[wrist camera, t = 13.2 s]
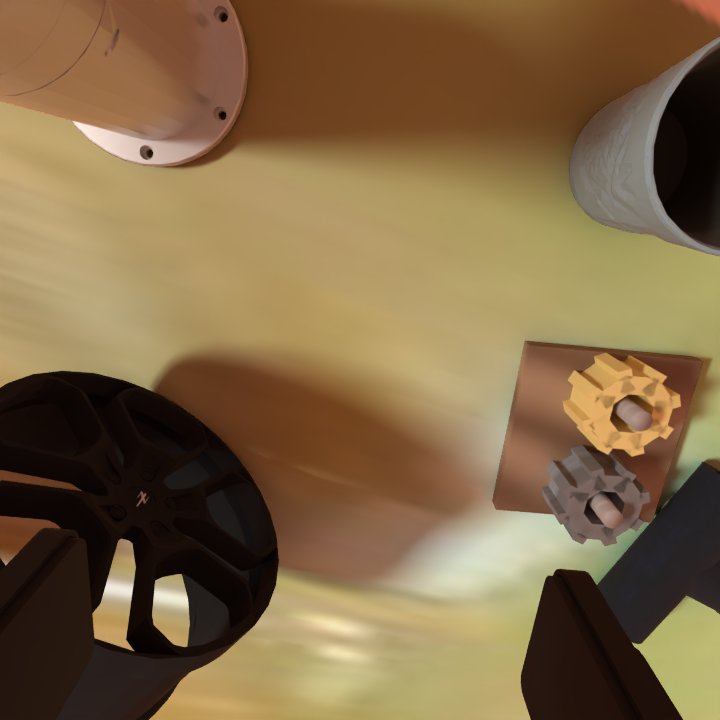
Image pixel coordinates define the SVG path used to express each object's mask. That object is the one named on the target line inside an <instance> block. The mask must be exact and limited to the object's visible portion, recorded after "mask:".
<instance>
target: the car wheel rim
mask: <svg viewBox="0 0 720 720" xmlns="http://www.w3.org/2000/svg"><path fill="white" fill-rule="evenodd" d="M0 470H5V471H10V472H15V473H21V474H26V475H31V476H36V477H41V478H46V479H52V480H57V481H62V482H67V483H71V484H72V485H74V486H76V487H77V488H79V489H81V490H82V491H77V490H70V489H63V488H55V487H48V486H40V485H33V484H26V483H18V482H11V481H4V480H2V481H0V516H10V517H22V518H33V519H44V520H49V521H52V522H54V523H56V524H57V525H58V526H59V527H60V528H61V529H68V530H75V531H77V533H78V535H79V538H82V539H84V540H85V541H86V546H87V558H88V570H89V581H90V593H91V605H92V613H93V612H94V611H95V610H96V608H97V607H98V606H99V605H100V603H101V600H102V596H103V593H104V589H105V586H106V582H107V578H108V575H109V571H110V568H111V564H112V561H113V557H114V553H115V550H116V546H117V543H118V541H119V540H120V539H121V538H122V539H126V540H129V541H130V542H132V543H133V549H134V557H135V564H136V571H135V579H134V586H133V593H132V601H131V608H130V616H129V623H128V630H127V638H126V640H127V641H128V643H129V644H130V646H131V647H132V648H133V650H134V651H135V652H134V651H131V650H128V649H125V648H122V647H119V646H116V645H113V644H110V643H107V642H104V641H101V640H98V639H95V638H94V650H93V654H92V657H91V659H90V662H89V664H88V665H87V667H86V669H85V671H84V672H83V674H82V676H81V677H80V679H79V681H78V682H77V684H76V686H75V688H74V689H73V691H72V693H71V694H70V696H69V698H68V700H67V701H66V703H65V705H64V706H63V708H62V710H61V712H60V713H59V715H58V717H57V718H56V720H149V719H150V718H151V717H152V716H153V715H154V714H155V713H156V712H157V711H158V710H159V709H160V708H161V707H162V705H163V704H164V703H165V702H166V701H167V700H168V698H169V697H170V696H171V694H172V693H173V691H174V689H175V688H176V686H177V685H178V683H179V682H180V681H181V680H182V679H183V678H184V677H185V676H186V675H187V674H188V673H189V672H191V671H194V670H196V669H198V668H201V667H203V666H205V665H207V664H208V663H210V662H212V661H214V660H215V659H217V658H218V657H220V656H221V655H222V654H223V653H225V652H226V651H227V650H228V649H229V648H230V647H231V646H233V645H234V644H235V643H236V642H237V641H238V640H239V639H240V638H241V637H242V636H243V635H245V634H246V633H247V632H248V631H249V630H250V629H251V628H252V627H253V626H254V625H255V624H256V623H257V621H258V620H259V618H260V617H261V615H262V614H263V613H264V611H265V610H266V608H267V607H268V605H269V602H270V600H271V597H272V594H273V591H274V589H275V586H276V580H277V572H278V564H279V558H278V548H277V538H276V533H275V530H274V526H273V522H272V519H271V515H270V512H269V510H268V508H267V506H266V503H265V501H264V499H263V497H262V495H261V492H260V490H259V489H258V487H257V485H256V484H255V482H254V481H253V479H252V477H251V476H250V474H249V472H248V471H247V470H246V468H245V467H244V466H243V464H242V463H241V462H240V460H239V459H238V458H237V456H236V455H235V454H234V453H233V452H232V451H231V450H230V449H229V448H228V447H227V446H226V444H225V443H224V442H223V441H222V440H221V439H220V438H219V437H218V436H217V435H216V434H214V433H213V432H212V431H211V430H210V429H209V428H208V427H206V426H205V425H204V424H203V423H202V422H201V421H199V420H198V419H196V418H195V417H194V416H192V415H191V414H189V413H188V412H187V411H185V410H184V409H183V408H181V407H179V406H177V405H176V404H174V403H172V402H171V401H169V400H167V399H165V398H164V397H162V396H160V395H158V394H156V393H154V392H152V391H149V390H147V389H145V388H143V387H140V386H137V385H135V384H132V383H129V382H127V381H124V380H120V379H116V378H112V377H108V376H103V375H99V374H95V373H84V372H70V371H58V372H49V373H41V374H33V375H30V376H27V377H24V378H21V379H19V380H16V381H13V382H10V383H7V384H6V385H4V386H2V387H1V388H0ZM5 566H6V565H5V564H4V563H3V561H2V560H1V558H0V571H1V570H2V569H3V568H4V567H5ZM175 574H182V576H183V580H184V584H185V588H186V592H187V596H188V602H189V616H190V628H189V637H188V646H187V647H181V646H176V645H173V644H172V643H171V642H170V641H169V640H168V639H167V638H166V637H165V636H164V635H163V634H162V633H161V632H160V631H159V630H158V629H157V628H156V627H155V626H154V625H153V619H152V608H153V597H154V586H155V580H157V579H159V578H161V577H165V576H170V575H175Z"/></svg>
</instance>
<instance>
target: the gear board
mask: <svg viewBox="0 0 720 720" xmlns="http://www.w3.org/2000/svg"><path fill="white" fill-rule="evenodd" d="M604 353H608V354H609V355H611V356H612V357H614V358H616V359H617V360H619V361H625V360H626V358H627V357H628V355H630V356H632V357H634V358H636V359H637V360H639V361H641V362H643V363H644V364H646V365H648V366H650V367H651V368H653V369H655V370H657V371H658V372H660V373H662V374H664V375H665V376H667V378H666V379H665V380H664V382H663V383H662V384H663V385H664V386H666V387H668V388H669V389H671V390H673V391H674V392H676V393H677V394H679V395H680V402H681V407H678V408H674V409H672V413H671V416H670V419H669V422H668V425H669V426H670V427H672V428H673V429H674V430H673V431H672V432H671V434H670V435H669V436H668V437H667V439H664V438H662V437H660V436H659V437H657V438H656V439H654V440H652V441H651V442H649V443H648V444H646V445H645V446H643V447H644V454H640V455H636V456H632V457H631V456H630V455H629V454H628V453H627V452H626V451H625V450H624V449H615V448H613V449H612V450H611V451H610V453H609V454H606V453H604V452H602V451H600V450H598V449H597V448H596V447H595V446H594V445H593V444H592V443H591V442H590V441H589V440H588V439H587V438H586V437H585V436H584V435H583V433H582V432H581V431H580V430H579V429H578V428H577V426H578V425H577V424H576V423H575V422H574V421H573V420H572V419H571V418H570V417H569V416H568V415H567V414H566V413H565V411H564V406H563V401H565V400H568V399H570V397H571V393H572V388H573V385H572V384H571V383H570V382H569V381H568V379H569V377H570V376H571V374H572V373H573V371H574V370H575V371H577V372H579V373H582V372H584V371H585V370H586V369H588V368H589V367H591V366H592V365H593V364H595V358H594V356H597V355H600V354H604ZM702 365H703V361H701V360H699V359H697V358H695V357H690V356H680V355H669V354H658V353H648V352H637V351H626V350H616V349H605V348H594V347H584V346H573V345H562V344H551V343H541V342H530V341H525V343H524V348H523V353H522V358H521V363H520V368H519V373H518V378H517V383H516V387H515V392H514V397H513V402H512V407H511V412H510V417H509V422H508V427H507V432H506V437H505V441H504V446H503V451H502V456H501V461H500V466H499V471H498V476H497V481H496V486H495V491H494V495H493V500H492V501H493V504H494V506H495V508H496V510H508V511H520V512H532V513H543V514H554V515H555V517H556V518H557V520H558V521H559V523H560V525H561V524H563V525H564V526H565V528H566V529H567V531H568V533H569V534H570V536H571V537H572V539H573V540H575V541H577V542H579V543H581V544H583V543H584V542H585V541H586V539H598V540H601V541H602V543H603V544H604V546H607V545H611V544H615V543H617V542H616V537H617V536H618V535H620V534H621V533H623V532H625V531H626V530H628V529H630V528H632V529H634V530H636V531H637V530H638V529H639V528H640V526H641V525H642V524H643V523H644V522H651V523H652V521H653V518H654V514H655V511H656V508H657V505H658V502H659V499H660V496H661V493H662V490H663V486H664V483H665V480H666V477H667V474H668V471H669V468H670V465H671V461H672V458H673V455H674V452H675V449H676V446H677V443H678V440H679V436H680V433H681V430H682V427H683V424H684V421H685V418H686V415H687V412H688V408H689V405H690V402H691V399H692V396H693V393H694V390H695V387H696V383H697V380H698V377H699V374H700V371H701V368H702ZM612 411H613V412H614V413H615V414H616V415H617V416H619V417H620V418H621V419H622V420H623V421H625V422H626V423H627V424H628V425H629V426H631V427H632V428H633V429H634V430H636V431H639V432H641V431H645V430H647V429H649V428H650V427H651V425H652V423H653V418H652V416H651V415H650V414H649V413H648V412H646V411H645V410H644V409H642V408H641V407H640V406H638V405H637V404H636V403H634V402H633V401H632V400H630V399H629V398H627V397H626V396H625V397H624V398H622V399H621V400H619V401H618V402H616V403H615V404H614V405H613V409H612Z"/></svg>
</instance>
